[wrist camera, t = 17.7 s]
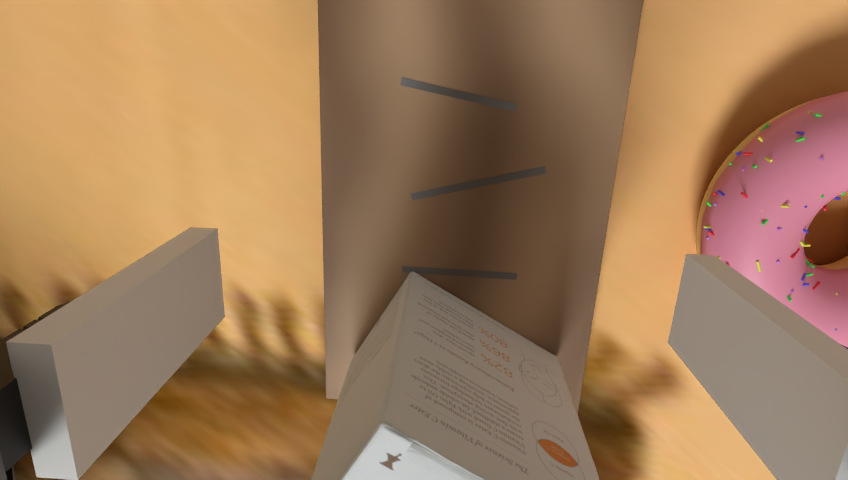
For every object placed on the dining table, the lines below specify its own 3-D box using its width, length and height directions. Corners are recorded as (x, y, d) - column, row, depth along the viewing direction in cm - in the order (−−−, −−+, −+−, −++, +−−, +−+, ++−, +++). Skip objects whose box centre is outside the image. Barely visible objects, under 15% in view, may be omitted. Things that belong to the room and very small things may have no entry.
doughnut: (914, 327, 24) (1001, 378, 20) (667, 329, 25) (704, 379, 21) (982, 78, 21) (1103, 82, 17) (693, 91, 22) (744, 98, 18)
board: (333, 380, 27) (326, 398, 26) (326, -61, 21) (316, -70, 19) (570, 398, 27) (576, 417, 25) (639, -51, 20) (652, -59, 19)
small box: (350, 357, 25) (275, 555, 15) (412, 265, 23) (375, 419, 13) (492, 439, 26) (510, 676, 16) (562, 356, 24) (631, 564, 14)
